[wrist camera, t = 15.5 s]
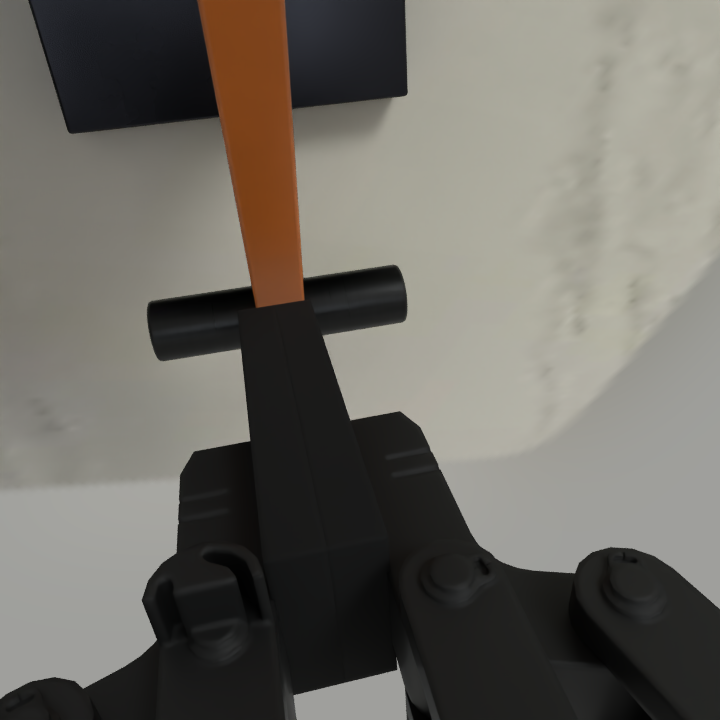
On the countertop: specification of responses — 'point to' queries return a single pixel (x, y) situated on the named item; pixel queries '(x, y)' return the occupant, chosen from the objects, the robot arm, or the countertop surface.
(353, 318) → the switch lever
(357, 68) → the switch bracket
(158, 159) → the countertop surface
